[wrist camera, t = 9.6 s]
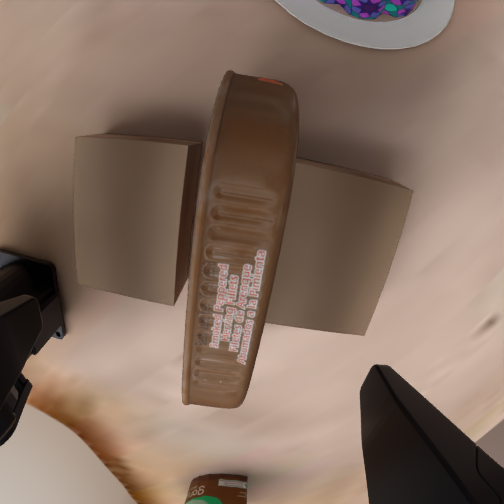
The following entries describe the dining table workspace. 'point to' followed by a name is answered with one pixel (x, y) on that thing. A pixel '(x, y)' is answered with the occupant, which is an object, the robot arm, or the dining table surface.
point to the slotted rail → (180, 225)
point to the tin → (237, 235)
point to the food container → (218, 489)
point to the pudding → (375, 33)
